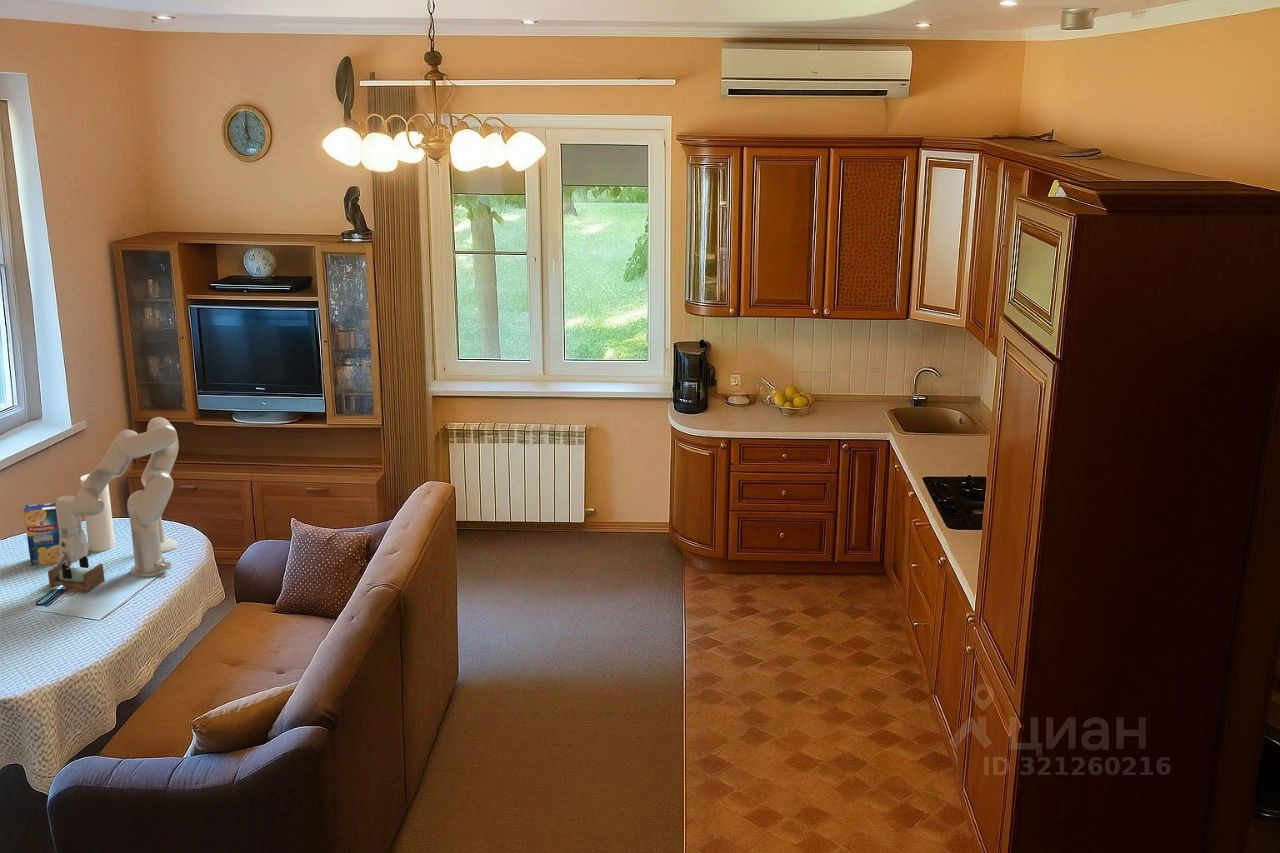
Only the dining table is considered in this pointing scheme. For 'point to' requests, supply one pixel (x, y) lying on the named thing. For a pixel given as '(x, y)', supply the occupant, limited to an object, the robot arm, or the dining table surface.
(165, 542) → the candlestick
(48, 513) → the beverage box
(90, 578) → the holder
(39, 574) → the dining table surface
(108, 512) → the cylinder container
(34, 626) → the dining table surface
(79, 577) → the roll
